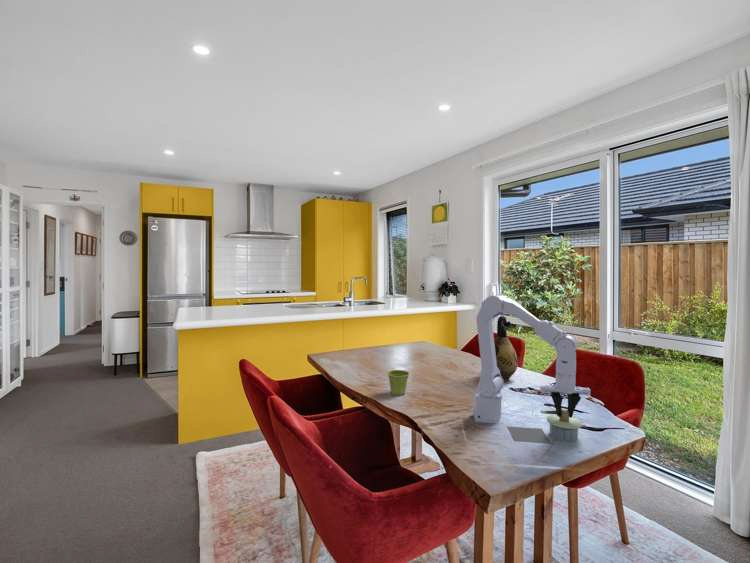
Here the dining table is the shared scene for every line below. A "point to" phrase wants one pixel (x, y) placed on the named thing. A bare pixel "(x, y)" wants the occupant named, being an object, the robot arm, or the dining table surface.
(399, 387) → the plant pot
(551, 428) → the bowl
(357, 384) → the dining table surface
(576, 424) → the lid
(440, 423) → the dining table surface
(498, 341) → the ceramic jug
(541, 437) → the mat
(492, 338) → the robot arm
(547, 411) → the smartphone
